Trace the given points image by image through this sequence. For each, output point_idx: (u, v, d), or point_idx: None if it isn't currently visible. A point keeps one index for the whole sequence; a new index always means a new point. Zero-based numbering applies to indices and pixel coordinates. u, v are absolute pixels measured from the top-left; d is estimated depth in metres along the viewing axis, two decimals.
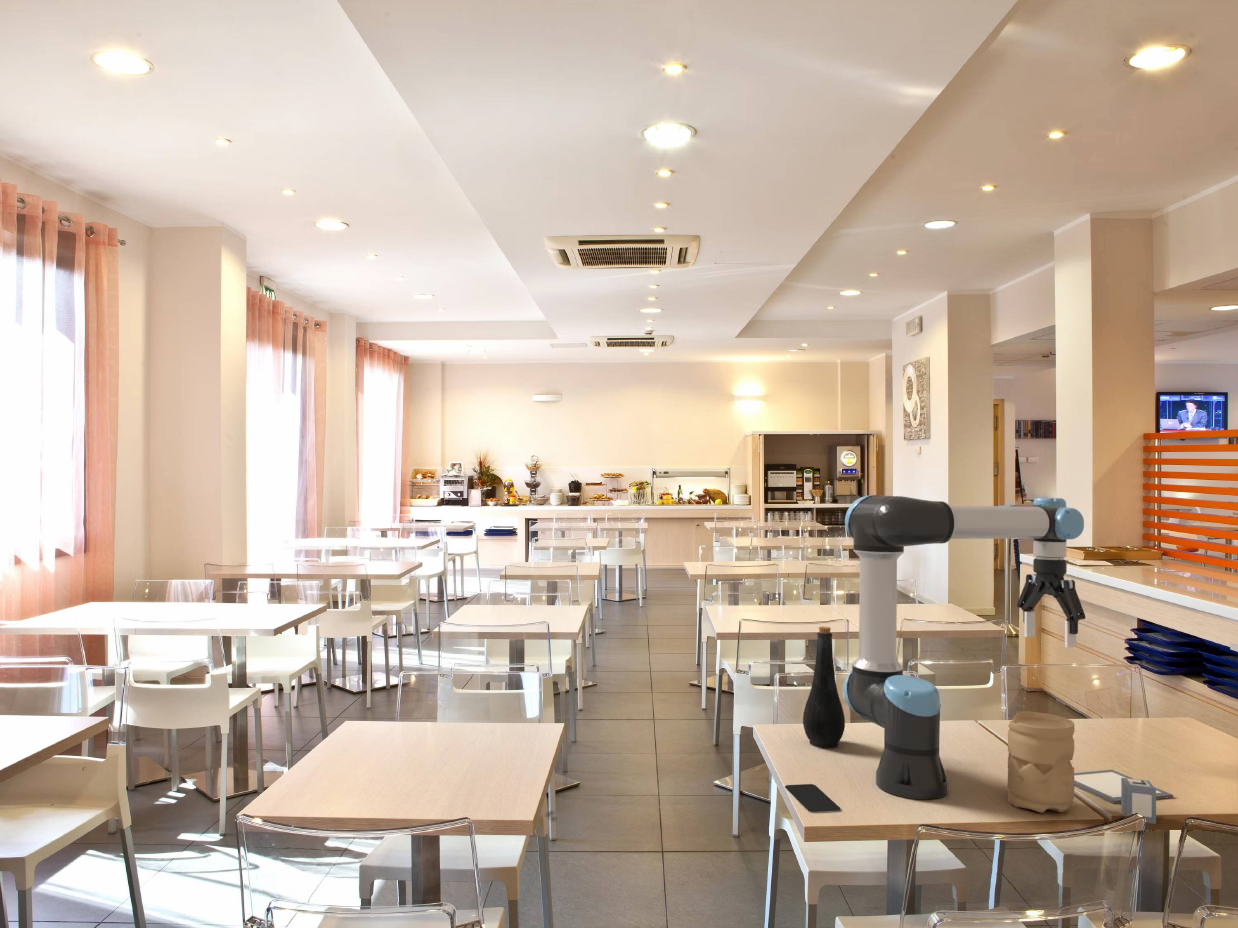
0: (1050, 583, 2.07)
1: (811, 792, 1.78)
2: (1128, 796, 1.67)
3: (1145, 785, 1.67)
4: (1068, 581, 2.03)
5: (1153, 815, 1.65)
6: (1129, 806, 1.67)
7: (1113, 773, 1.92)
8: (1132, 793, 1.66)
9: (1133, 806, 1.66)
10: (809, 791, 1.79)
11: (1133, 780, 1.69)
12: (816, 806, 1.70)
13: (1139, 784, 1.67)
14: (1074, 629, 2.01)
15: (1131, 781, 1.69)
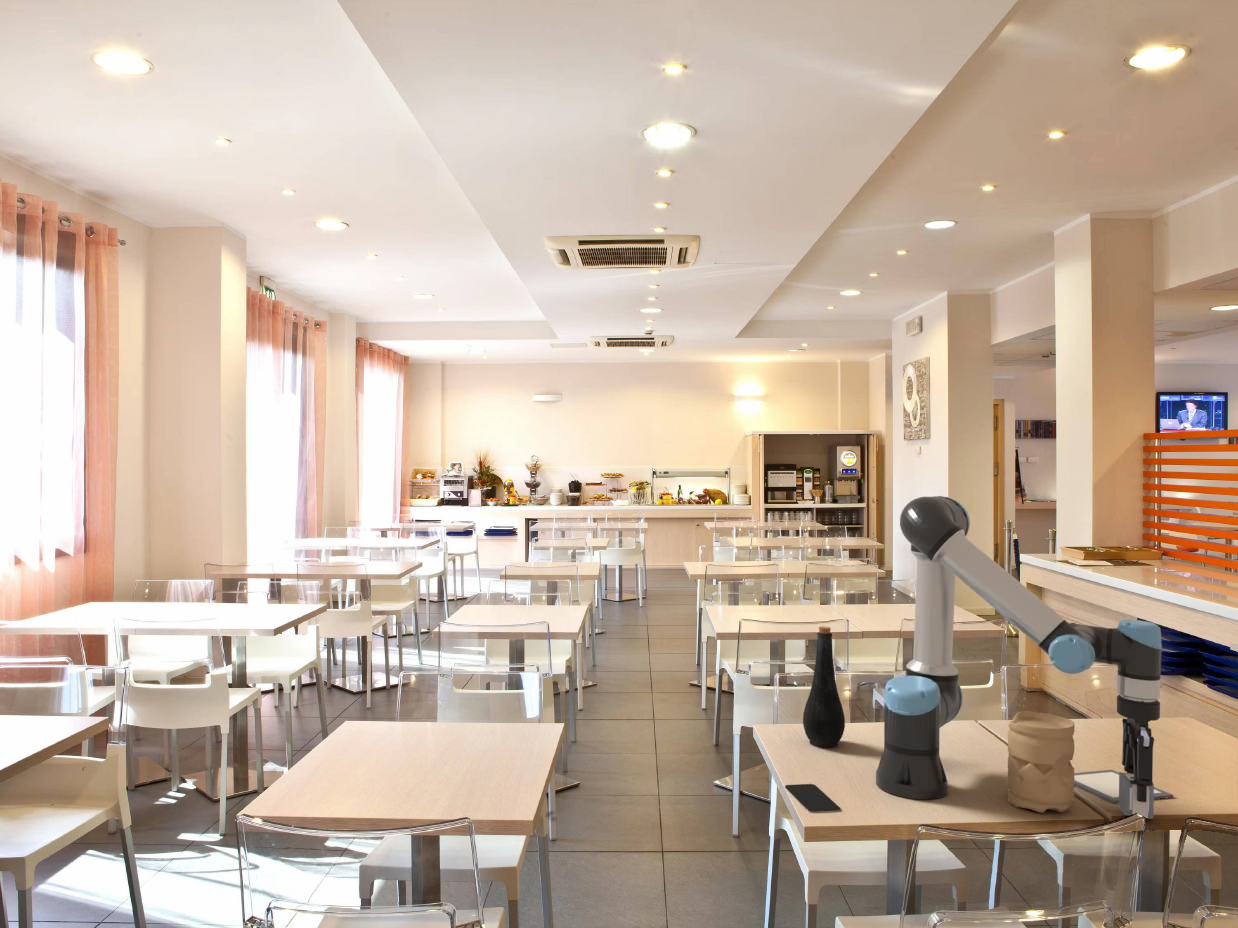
0: (1131, 730, 1.67)
1: (811, 792, 1.78)
2: (1126, 791, 1.67)
3: None
4: (1143, 739, 1.63)
5: (1150, 810, 1.65)
6: (1126, 800, 1.67)
7: (1113, 773, 1.92)
8: (1129, 787, 1.67)
9: (1131, 801, 1.66)
10: (809, 791, 1.79)
11: (1131, 775, 1.70)
12: (816, 806, 1.70)
13: None
14: (1140, 795, 1.64)
15: (1129, 776, 1.69)
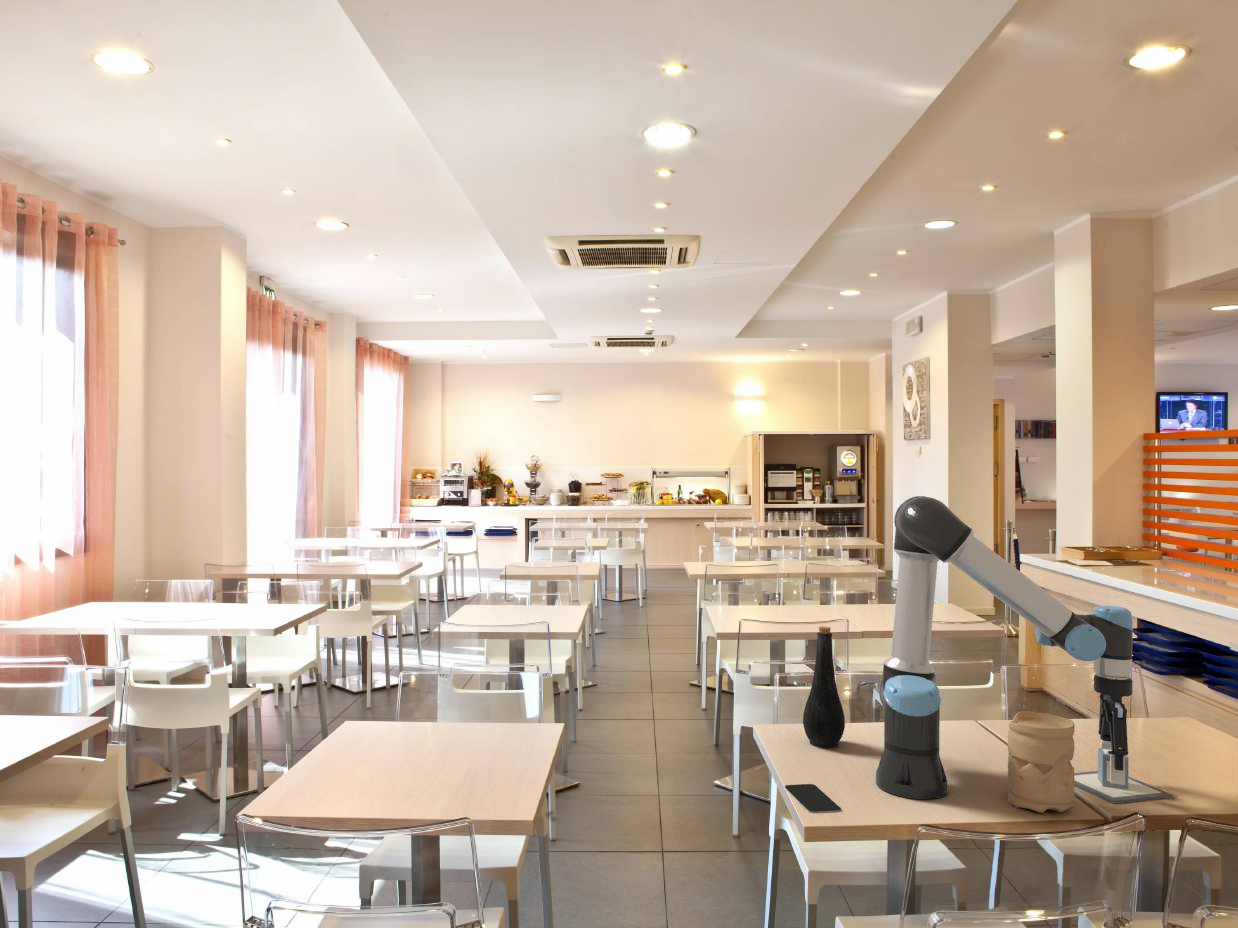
0: (1107, 705, 1.84)
1: (811, 792, 1.78)
2: (1103, 764, 1.84)
3: None
4: (1117, 710, 1.79)
5: (1126, 781, 1.82)
6: (1104, 773, 1.83)
7: None
8: (1106, 761, 1.83)
9: (1108, 773, 1.83)
10: (809, 791, 1.79)
11: (1108, 750, 1.86)
12: (816, 806, 1.70)
13: None
14: (1117, 764, 1.79)
15: (1106, 751, 1.85)
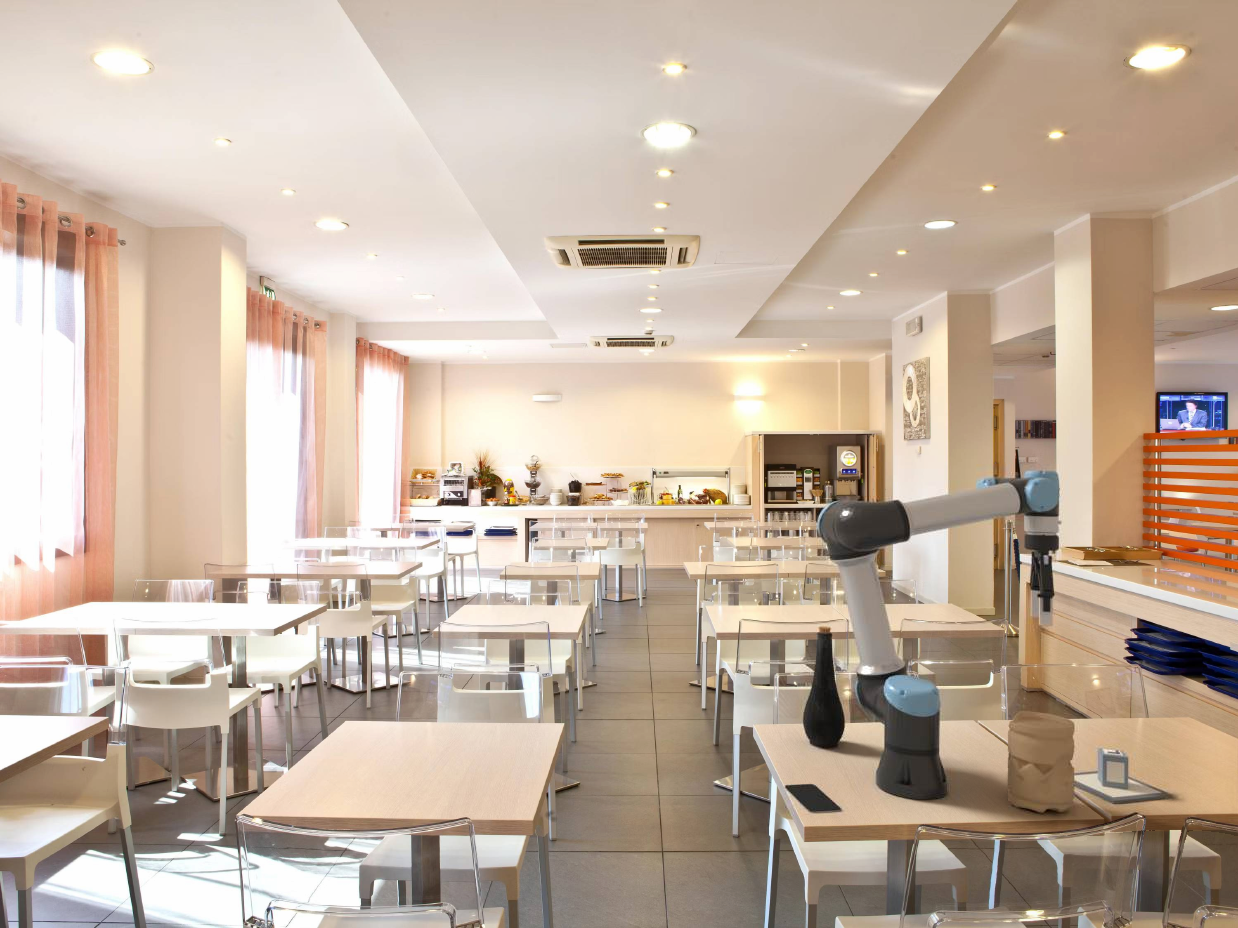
0: (1035, 559, 1.99)
1: (811, 792, 1.78)
2: (1103, 764, 1.84)
3: (1119, 754, 1.84)
4: (1043, 556, 1.94)
5: (1126, 781, 1.82)
6: (1104, 773, 1.83)
7: None
8: (1106, 761, 1.83)
9: (1108, 773, 1.83)
10: (809, 791, 1.79)
11: (1108, 750, 1.86)
12: (816, 806, 1.70)
13: (1113, 753, 1.84)
14: (1045, 606, 1.92)
15: (1106, 751, 1.85)
